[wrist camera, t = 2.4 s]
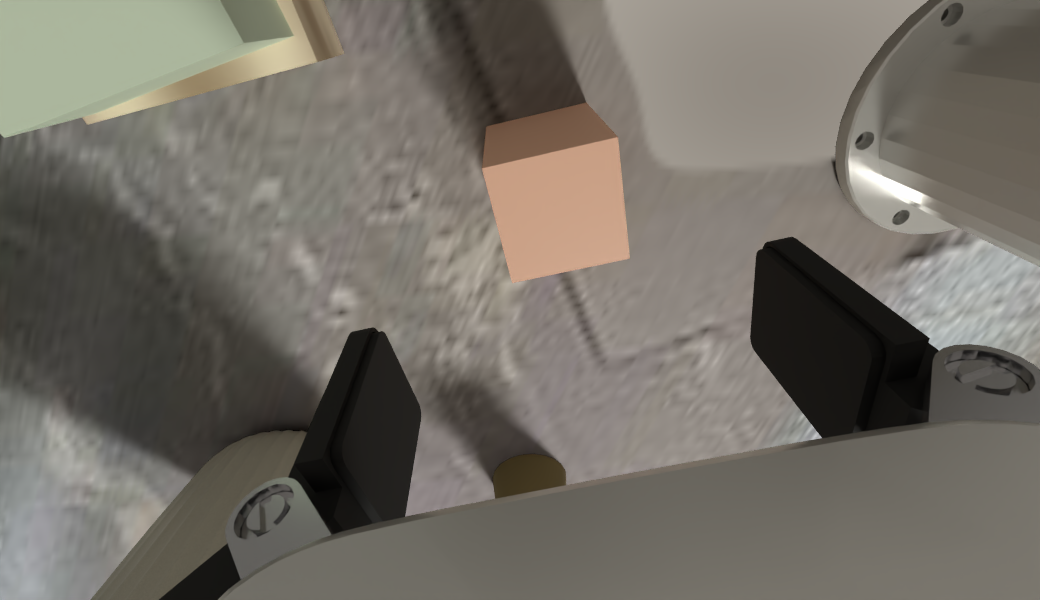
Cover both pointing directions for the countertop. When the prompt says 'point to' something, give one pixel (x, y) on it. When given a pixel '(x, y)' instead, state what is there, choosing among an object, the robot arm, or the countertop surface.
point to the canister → (200, 516)
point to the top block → (116, 51)
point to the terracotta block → (556, 192)
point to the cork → (527, 475)
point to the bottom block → (251, 59)
